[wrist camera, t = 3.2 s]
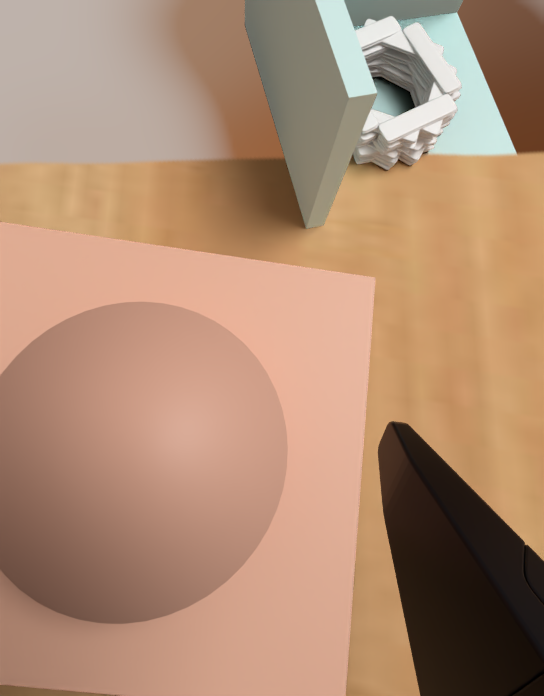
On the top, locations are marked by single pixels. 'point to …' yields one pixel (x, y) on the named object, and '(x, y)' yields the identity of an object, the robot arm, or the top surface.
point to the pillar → (177, 468)
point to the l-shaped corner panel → (369, 88)
